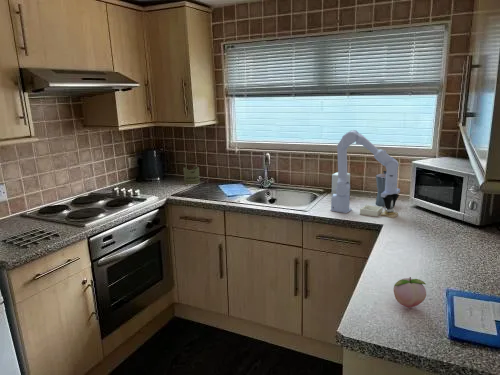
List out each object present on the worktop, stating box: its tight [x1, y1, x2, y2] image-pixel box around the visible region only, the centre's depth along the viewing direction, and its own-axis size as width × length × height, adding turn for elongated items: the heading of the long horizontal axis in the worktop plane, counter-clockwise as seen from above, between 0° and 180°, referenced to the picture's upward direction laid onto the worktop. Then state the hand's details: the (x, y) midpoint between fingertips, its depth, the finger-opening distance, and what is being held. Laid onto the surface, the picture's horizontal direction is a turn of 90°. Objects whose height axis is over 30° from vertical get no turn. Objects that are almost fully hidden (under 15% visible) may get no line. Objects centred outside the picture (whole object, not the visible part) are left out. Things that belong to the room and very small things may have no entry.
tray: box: [359, 204, 384, 218], centre depth 207 cm, size 9×9×3 cm
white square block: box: [331, 171, 351, 196], centre depth 238 cm, size 9×9×15 cm
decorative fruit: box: [393, 276, 427, 309], centre depth 117 cm, size 9×8×10 cm
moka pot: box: [375, 170, 387, 208], centre depth 220 cm, size 10×15×20 cm, turn 158°
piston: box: [183, 166, 201, 185], centre depth 286 cm, size 11×12×11 cm
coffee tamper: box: [384, 199, 395, 213], centre depth 202 cm, size 4×4×6 cm
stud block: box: [379, 210, 399, 219], centre depth 203 cm, size 7×7×2 cm
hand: (389, 208), depth 202 cm, fingers closed on coffee tamper, 3 cm apart
